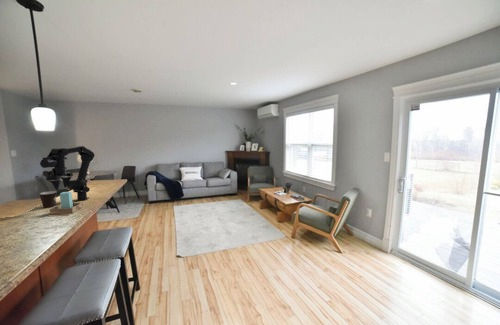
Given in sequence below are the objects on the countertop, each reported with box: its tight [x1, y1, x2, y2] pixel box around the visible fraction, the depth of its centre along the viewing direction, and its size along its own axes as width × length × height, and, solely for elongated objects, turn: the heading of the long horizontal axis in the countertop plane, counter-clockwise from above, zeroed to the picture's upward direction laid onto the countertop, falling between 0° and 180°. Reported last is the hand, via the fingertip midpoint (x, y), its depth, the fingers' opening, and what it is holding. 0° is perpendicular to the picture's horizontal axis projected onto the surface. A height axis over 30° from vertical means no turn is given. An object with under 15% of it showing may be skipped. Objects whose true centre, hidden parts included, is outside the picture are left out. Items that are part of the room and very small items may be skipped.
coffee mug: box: [39, 190, 58, 209], centre depth 146 cm, size 12×9×10 cm
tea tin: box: [59, 191, 74, 209], centre depth 136 cm, size 5×5×12 cm
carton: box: [47, 202, 85, 217], centre depth 136 cm, size 18×12×4 cm
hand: (61, 188), depth 144 cm, fingers open, 9 cm apart
